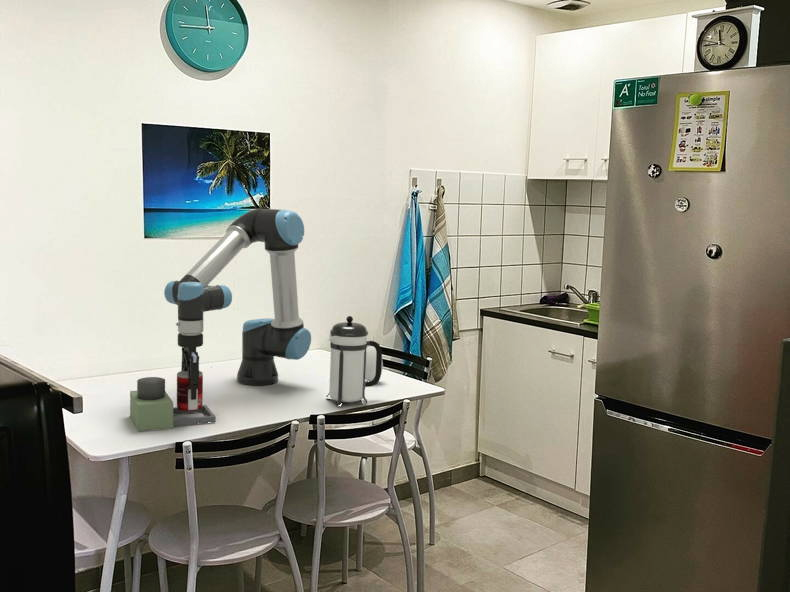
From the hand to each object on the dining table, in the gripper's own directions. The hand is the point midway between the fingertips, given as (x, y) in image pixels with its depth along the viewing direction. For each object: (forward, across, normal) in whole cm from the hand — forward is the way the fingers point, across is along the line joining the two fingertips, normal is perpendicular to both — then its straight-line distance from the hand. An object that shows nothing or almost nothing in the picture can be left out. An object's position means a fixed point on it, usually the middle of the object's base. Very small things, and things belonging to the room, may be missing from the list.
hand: (189, 405), depth 238 cm
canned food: (+1, 0, 0) cm, 1 cm away
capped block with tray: (+4, 0, -5) cm, 7 cm away
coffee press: (+5, -3, +55) cm, 55 cm away
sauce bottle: (+5, -24, +73) cm, 77 cm away
